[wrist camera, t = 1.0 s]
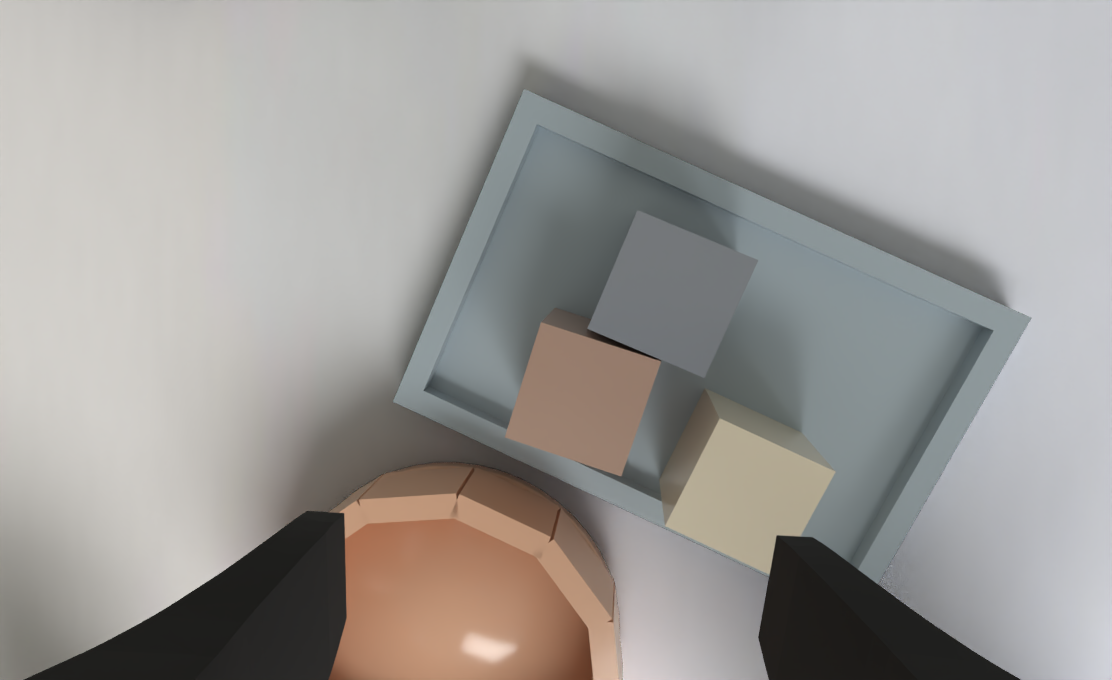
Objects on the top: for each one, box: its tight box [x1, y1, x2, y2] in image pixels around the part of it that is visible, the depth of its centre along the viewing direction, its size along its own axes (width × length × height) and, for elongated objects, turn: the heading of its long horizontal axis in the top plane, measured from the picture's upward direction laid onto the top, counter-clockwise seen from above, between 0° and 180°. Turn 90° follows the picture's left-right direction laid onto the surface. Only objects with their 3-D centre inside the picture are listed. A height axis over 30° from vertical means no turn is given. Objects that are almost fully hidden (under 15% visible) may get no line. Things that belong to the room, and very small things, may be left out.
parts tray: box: [393, 89, 1031, 584], centre depth 24 cm, size 17×11×1 cm, turn 66°
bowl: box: [329, 462, 623, 680], centre depth 25 cm, size 12×12×3 cm
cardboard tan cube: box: [505, 308, 661, 476], centre depth 23 cm, size 4×4×4 cm
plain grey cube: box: [587, 210, 758, 378], centre depth 22 cm, size 4×4×4 cm
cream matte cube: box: [659, 388, 836, 575], centre depth 23 cm, size 4×4×4 cm
